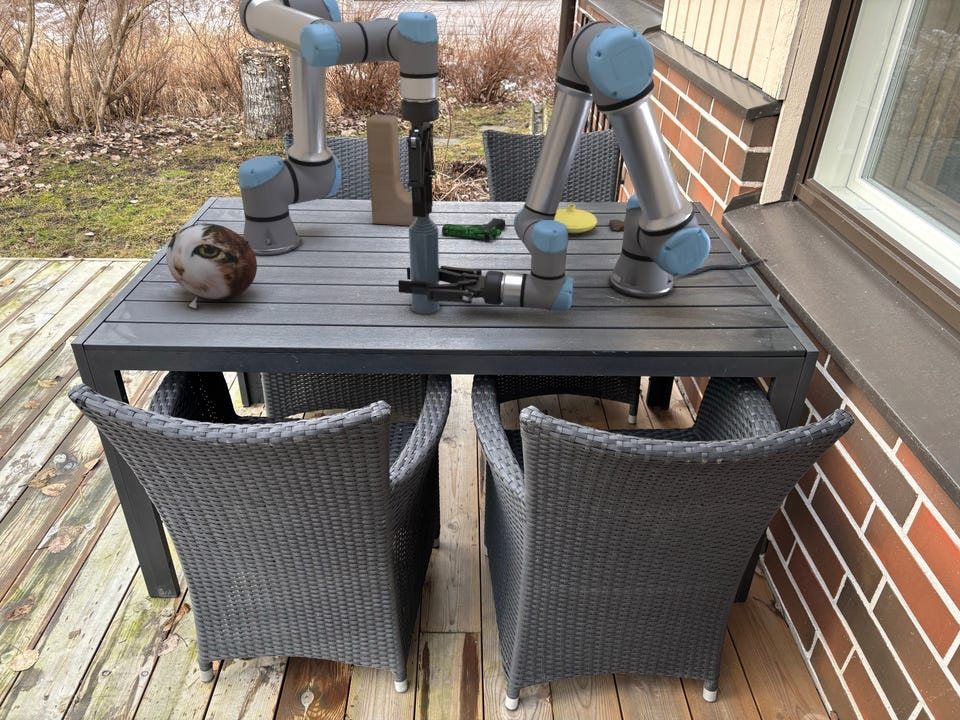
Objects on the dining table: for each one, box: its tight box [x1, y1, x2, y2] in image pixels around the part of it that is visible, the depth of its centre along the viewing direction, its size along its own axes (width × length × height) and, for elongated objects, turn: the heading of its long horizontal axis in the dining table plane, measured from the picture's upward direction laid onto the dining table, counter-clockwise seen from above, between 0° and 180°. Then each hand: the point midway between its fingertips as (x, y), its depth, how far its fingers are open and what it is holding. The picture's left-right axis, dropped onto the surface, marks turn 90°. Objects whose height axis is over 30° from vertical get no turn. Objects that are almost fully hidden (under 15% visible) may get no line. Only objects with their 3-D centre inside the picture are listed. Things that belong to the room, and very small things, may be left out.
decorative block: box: [365, 114, 417, 227], centre depth 207 cm, size 8×15×30 cm, turn 82°
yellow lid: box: [554, 203, 598, 234], centre depth 209 cm, size 16×16×7 cm
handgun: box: [441, 217, 506, 242], centre depth 207 cm, size 16×3×15 cm
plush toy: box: [165, 222, 258, 309], centre depth 165 cm, size 22×18×20 cm
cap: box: [426, 201, 433, 215], centre depth 153 cm, size 4×4×2 cm
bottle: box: [408, 214, 441, 315], centre depth 159 cm, size 6×6×24 cm
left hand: (422, 210), depth 154 cm, fingers open, 6 cm apart
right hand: (403, 279), depth 163 cm, fingers closed on bottle, 6 cm apart
